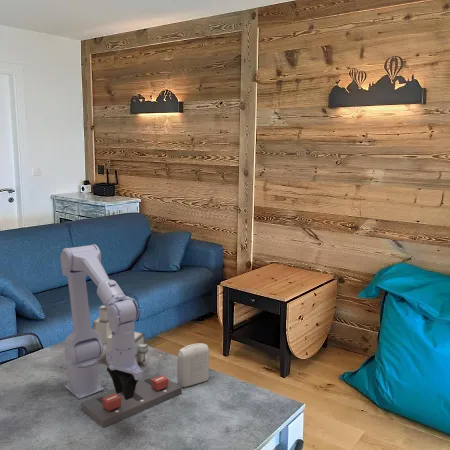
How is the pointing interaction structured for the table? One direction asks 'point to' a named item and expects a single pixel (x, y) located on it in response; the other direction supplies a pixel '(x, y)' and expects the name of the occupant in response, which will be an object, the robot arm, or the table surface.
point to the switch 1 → (111, 402)
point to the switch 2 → (159, 382)
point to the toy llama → (106, 336)
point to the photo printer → (193, 364)
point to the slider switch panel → (130, 401)
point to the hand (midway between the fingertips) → (124, 395)
